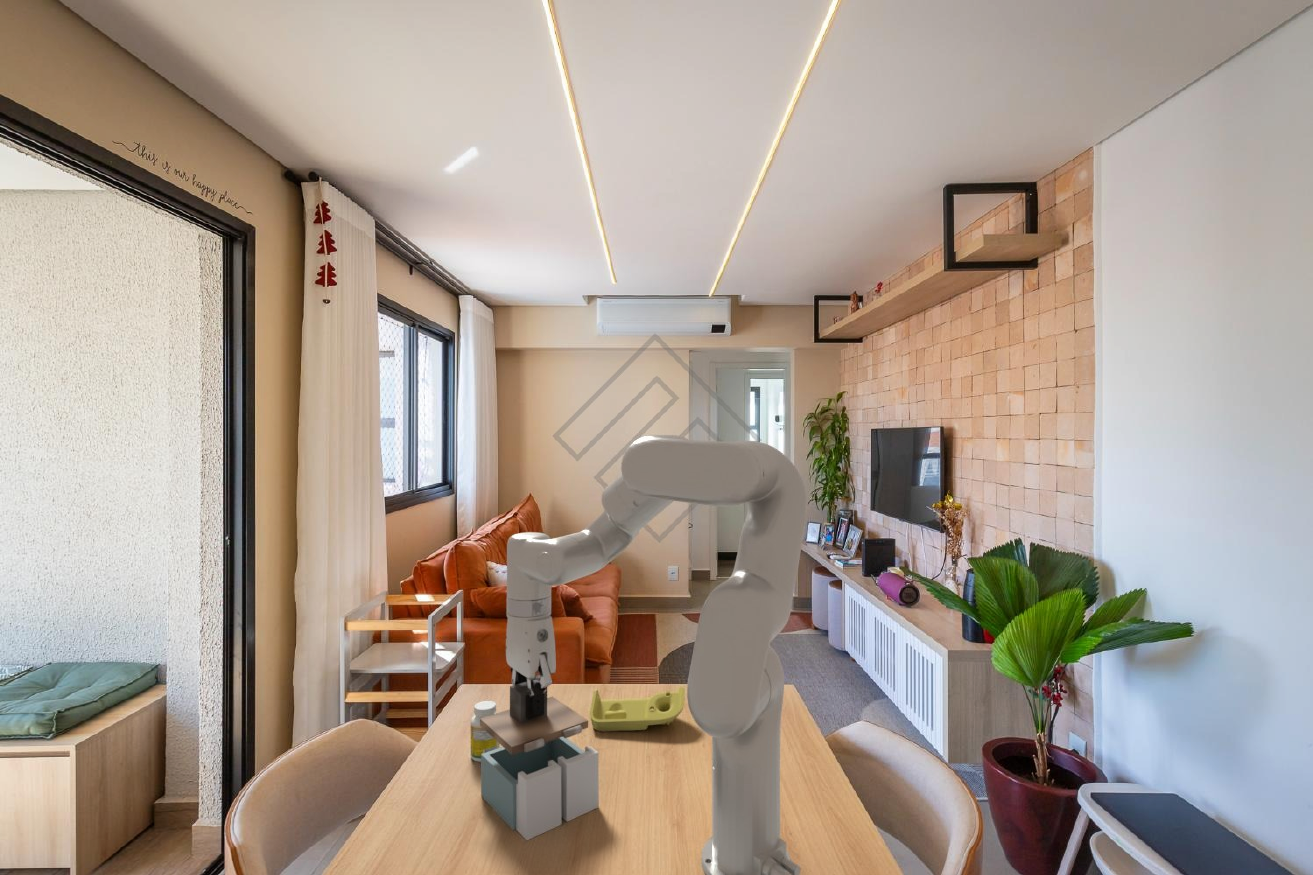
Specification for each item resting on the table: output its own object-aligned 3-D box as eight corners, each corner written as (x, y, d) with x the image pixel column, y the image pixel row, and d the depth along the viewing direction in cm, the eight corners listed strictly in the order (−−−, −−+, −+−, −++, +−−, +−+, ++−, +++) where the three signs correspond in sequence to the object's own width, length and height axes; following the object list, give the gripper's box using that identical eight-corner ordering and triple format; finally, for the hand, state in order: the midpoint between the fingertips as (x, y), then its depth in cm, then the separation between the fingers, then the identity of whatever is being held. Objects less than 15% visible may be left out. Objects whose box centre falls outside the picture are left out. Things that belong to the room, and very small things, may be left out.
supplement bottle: (491, 764, 113) (491, 712, 113) (465, 761, 114) (464, 709, 114) (504, 749, 119) (504, 700, 119) (479, 746, 120) (479, 697, 120)
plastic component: (588, 722, 125) (595, 683, 134) (593, 746, 128) (600, 707, 137) (684, 719, 123) (685, 679, 132) (687, 744, 126) (688, 704, 135)
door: (479, 725, 104) (480, 689, 103) (552, 702, 112) (552, 669, 112) (515, 757, 93) (515, 717, 93) (592, 730, 102) (592, 693, 102)
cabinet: (481, 795, 103) (481, 742, 103) (553, 766, 112) (553, 717, 112) (523, 841, 92) (523, 781, 91) (601, 805, 100) (600, 751, 100)
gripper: (573, 613, 101) (572, 723, 101) (526, 592, 114) (525, 690, 114) (532, 621, 96) (531, 737, 96) (487, 598, 109) (487, 701, 109)
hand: (528, 710), depth 105 cm, fingers closed on door, 4 cm apart
